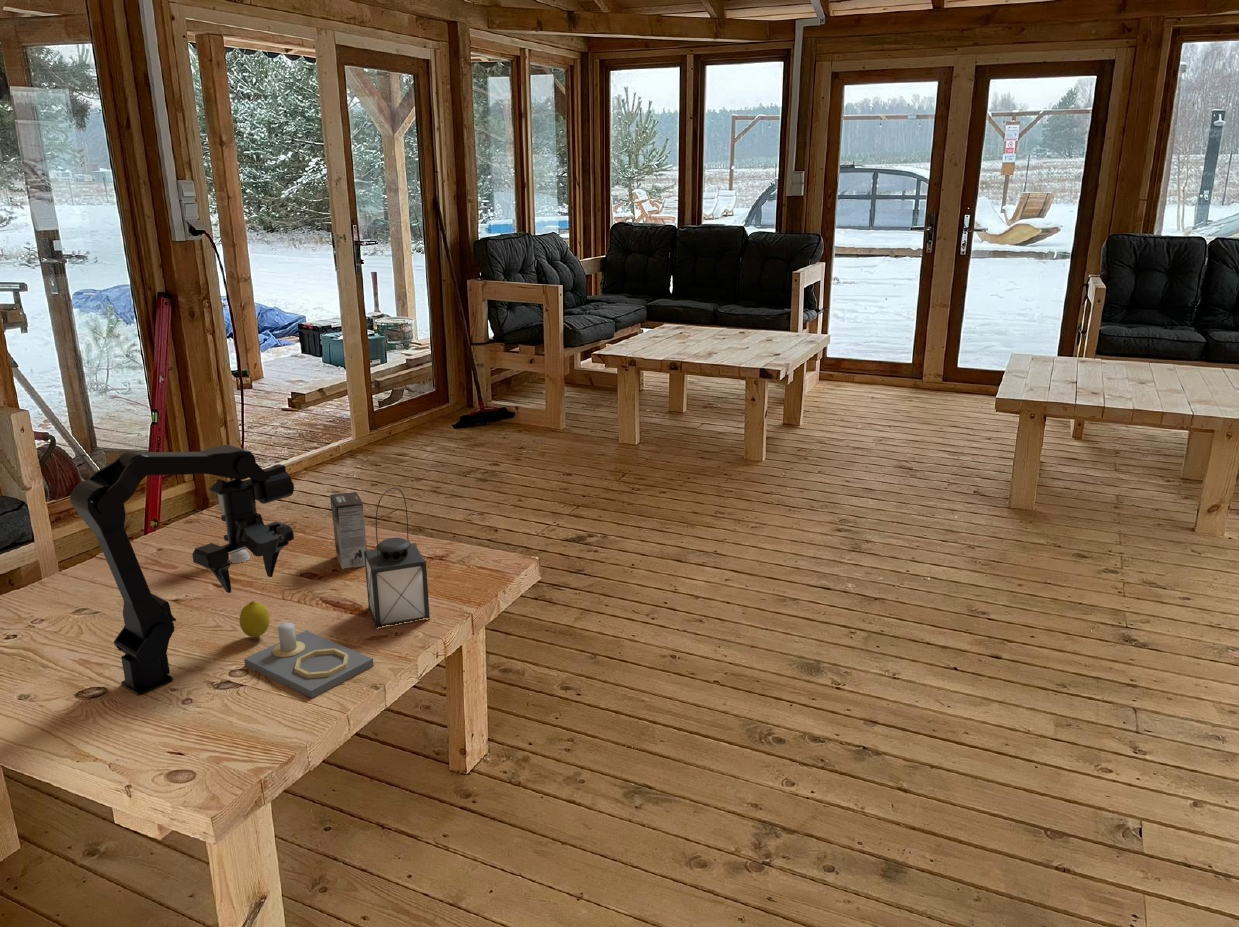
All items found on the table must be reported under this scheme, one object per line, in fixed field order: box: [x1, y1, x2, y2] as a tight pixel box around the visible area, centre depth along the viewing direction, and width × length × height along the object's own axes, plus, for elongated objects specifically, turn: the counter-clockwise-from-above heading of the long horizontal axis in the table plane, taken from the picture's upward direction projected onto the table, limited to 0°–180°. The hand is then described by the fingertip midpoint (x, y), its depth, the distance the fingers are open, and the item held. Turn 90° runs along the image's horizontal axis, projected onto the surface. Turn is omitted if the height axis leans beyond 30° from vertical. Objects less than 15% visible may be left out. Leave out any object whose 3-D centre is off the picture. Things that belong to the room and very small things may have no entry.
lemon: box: [239, 600, 270, 639], centre depth 184 cm, size 6×6×8 cm
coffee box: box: [329, 491, 368, 570], centre depth 220 cm, size 9×6×16 cm
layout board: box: [243, 622, 375, 699], centre depth 173 cm, size 14×20×6 cm
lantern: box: [364, 487, 431, 629], centre depth 191 cm, size 11×11×28 cm
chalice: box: [217, 494, 252, 564], centre depth 221 cm, size 7×7×18 cm
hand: (249, 584), depth 181 cm, fingers open, 9 cm apart
